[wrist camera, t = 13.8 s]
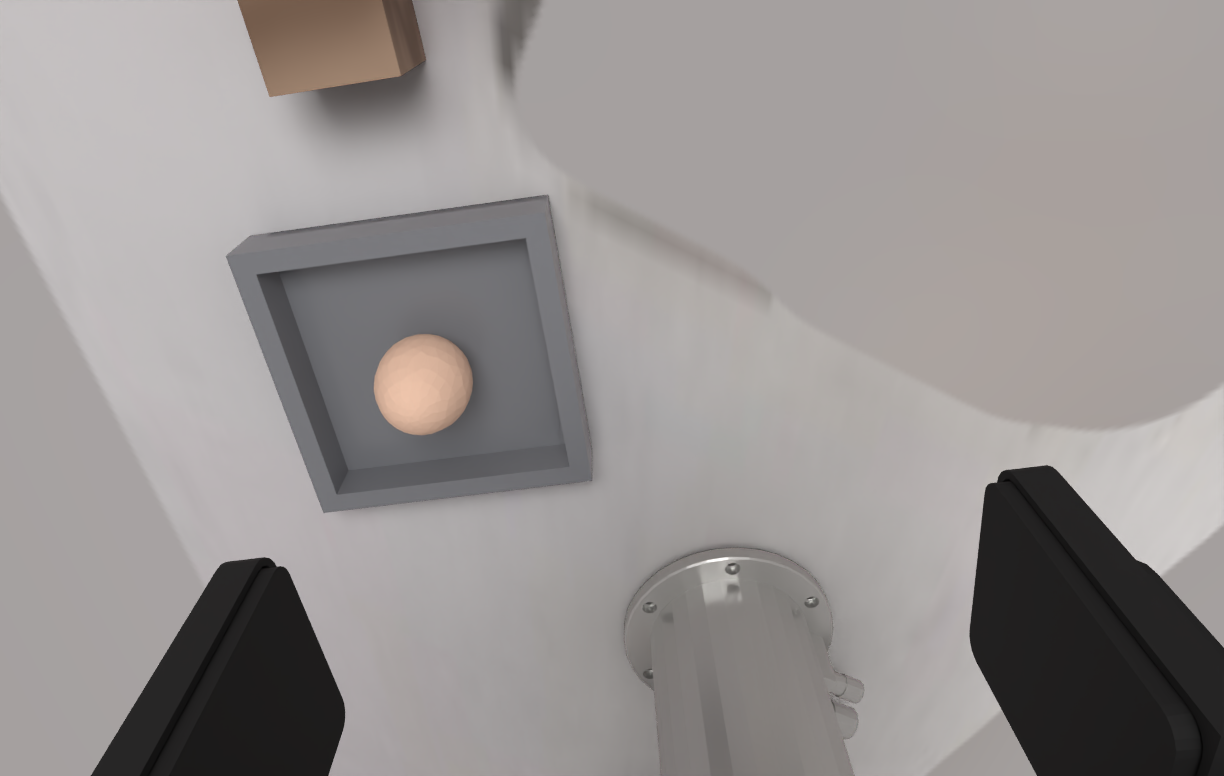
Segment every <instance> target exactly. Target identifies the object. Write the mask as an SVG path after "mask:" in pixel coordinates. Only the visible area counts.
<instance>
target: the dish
mask: <svg viewBox="0 0 1224 776" xmlns="http://www.w3.org/2000/svg"><path fill="white" fill-rule="evenodd" d="M226 258H227V260H228V263H229V266H230V268H231V271H232V274H233V276H234V279H235V281H236V284H237V287H238V289H239V292H240V295H241V297H242V300H243V302H244V305H245V308H246V310H247V313H248V316H249V318H250V321H251V323H252V326H253V329H254V331H255V334H256V337H257V339H258V342H259V344H260V347H261V350H262V352H263V355H264V358H265V360H266V363H267V366H268V368H269V371H270V373H271V376H272V379H273V381H274V384H275V387H276V389H277V392H278V394H279V397H280V400H281V402H282V405H283V408H284V410H285V413H286V415H287V418H288V421H289V423H290V426H291V429H292V431H293V434H294V436H295V439H296V442H297V444H298V447H299V450H300V452H301V455H302V457H303V460H304V463H305V465H306V468H307V471H308V473H309V476H310V478H311V481H312V484H313V486H314V489H315V492H316V494H317V497H318V500H319V502H320V505H321V507H322V510H323V513H326V512H335V511H343V510H351V509H360V508H368V507H376V506H385V505H393V504H401V503H410V502H418V501H426V500H435V499H443V498H451V497H460V496H468V495H476V494H485V493H493V492H501V491H510V490H518V489H526V488H535V487H543V486H551V485H560V484H568V483H576V482H585V481H592V446H591V441H590V435H589V429H588V423H587V417H586V412H585V406H584V400H583V394H582V388H581V383H580V377H579V371H578V365H577V360H576V354H575V348H574V342H573V336H572V331H571V325H570V319H569V313H568V308H567V302H566V296H565V290H564V284H563V279H562V273H561V267H560V261H559V255H558V250H557V244H556V238H555V232H554V227H553V221H552V215H551V209H550V203H549V198H548V195H543V196H535V197H528V198H521V199H514V200H506V201H499V202H492V203H485V204H477V205H470V206H463V207H455V208H448V209H441V210H434V211H426V212H419V213H412V214H405V215H397V216H390V217H383V218H376V219H368V220H361V221H354V222H347V223H339V224H332V225H325V226H317V227H310V228H303V229H296V230H288V231H281V232H274V233H267V234H259V235H252V236H249V237H248V238H247V239H246V240H244V241H243V242H242V243H241V244H240V245H238V246H237V247H236V248H235V249H234V250H232V251H231V252H230V253H229V254H228V255H226ZM417 334H433V335H437V336H441V337H443V338H445V339H447V340H449V341H451V342H452V343H454V344H455V345H456V346H457V347H458V348H459V349H460V350H461V351H462V352H463V353H464V355H465V356H466V358H467V359H468V362H469V364H470V367H471V370H472V377H473V387H472V393H471V396H470V399H469V402H468V404H467V406H466V408H465V410H464V412H463V413H462V414H461V416H460V417H459V418H458V419H457V420H456V421H455V422H454V423H453V424H452V425H450V426H448V427H446V428H444V429H443V430H440V431H438V432H435V433H433V434H428V435H412V434H408V433H404V432H402V431H400V430H398V429H396V428H395V427H394V426H392V425H391V424H390V423H389V422H388V421H387V420H386V419H385V418H384V416H383V415H382V413H381V411H380V409H379V407H378V404H377V402H376V400H375V394H374V378H375V374H376V371H377V368H378V366H379V363H380V361H381V359H382V358H383V356H384V355H385V353H386V352H387V351H388V350H389V349H390V348H391V347H392V346H393V345H394V344H395V343H397V342H399V341H400V340H402V339H404V338H406V337H409V336H413V335H417Z"/></svg>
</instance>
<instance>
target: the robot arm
mask: <svg viewBox="0 0 1224 776" xmlns="http://www.w3.org/2000/svg"><path fill="white" fill-rule="evenodd" d="M832 632H833V621H832V613H831V610H830V607H829V604H828V601H827V598H826V596H825V594H824V592H823V590H822V589H821V587H820V585H819V583H818V582H817V581H816V580H815V579H814V578H813V577H812V576H811V575H810V574H809V573H808V571H806V570H805V569H803V568H802V567H800V566H799V565H798V564H796V563H795V562H793V561H791V560H789V559H786V558H784V557H782V556H779V555H777V554H774V553H770V552H766V551H762V550H758V549H747V548H724V549H714V550H709V551H704V552H700V553H695V554H693V555H690V556H688V557H685V558H682V559H680V560H677V561H675V562H673V563H672V564H670V565H668V566H666V567H665V568H663V569H661V570H660V571H658V572H657V573H656V574H655V575H654V576H652V577H651V578H650V579H649V580H648V581H646V582H645V583H644V585H643V586H642V587H641V588H640V590H639V591H638V592H637V593H636V595H635V596H634V598H633V600H632V602H631V604H630V606H629V608H628V610H627V614H626V619H625V623H624V643H625V649H626V655H627V658H628V660H629V662H630V664H631V667H632V669H633V670H634V672H635V673H636V674H637V676H638V677H639V678H640V679H641V681H643V682H644V683H645V684H646V685H647V686H648V687H650V688H651V689H652V690H653V691H654V695H655V708H656V721H657V733H658V746H659V759H660V772H661V776H855V775H854V772H853V769H852V766H851V763H850V759H849V756H848V753H847V750H846V747H845V743H844V740H843V739H849V738H850V737H852V736H853V735H854V733H855V731H856V729H857V725H858V715H857V712H856V711H855V709H854V708H851V707H848V706H846V705H843V704H841V703H838V702H836V701H833V700H831V699H830V695H829V693H833V694H835V695H836V696H837V697H840V698H842V699H845V700H847V701H850V702H853V703H858V702H859V701H860V700H861V699H862V697H863V694H864V684H863V683H862V682H861V681H860V680H857V679H855V678H852V677H850V676H847V675H845V674H839V673H837V672H834V669H833V667H832V665H831V662H830V659H829V656H828V653H827V651H828V648H829V646H830V643H831V639H832ZM970 643H971V648H972V652H973V655H974V657H975V660H976V662H977V664H978V666H979V668H980V670H981V671H982V673H983V675H984V677H985V679H986V681H987V683H988V685H989V686H990V688H991V690H992V692H993V694H994V696H995V698H996V700H997V701H998V703H999V705H1000V707H1001V709H1002V711H1003V713H1004V715H1005V716H1006V718H1007V720H1008V722H1009V724H1010V726H1011V728H1012V730H1013V731H1014V733H1015V735H1016V737H1017V739H1018V741H1019V743H1020V744H1021V746H1022V748H1023V750H1024V752H1025V754H1026V756H1027V757H1028V760H1029V761H1030V763H1031V765H1032V767H1033V769H1034V771H1035V772H1036V775H1037V776H1224V648H1223V647H1222V645H1221V644H1220V643H1219V642H1218V641H1217V640H1216V639H1215V638H1214V636H1212V634H1211V633H1210V632H1209V631H1208V630H1207V629H1206V627H1205V626H1204V625H1203V624H1202V623H1201V622H1200V621H1199V620H1198V619H1197V617H1196V616H1195V615H1194V614H1193V613H1192V612H1191V611H1190V610H1189V609H1188V607H1187V606H1186V605H1185V604H1184V603H1183V602H1182V601H1181V600H1180V599H1179V597H1178V596H1177V595H1176V594H1175V593H1174V592H1173V591H1172V590H1171V588H1170V587H1169V586H1168V585H1167V584H1166V583H1165V582H1164V581H1163V580H1162V578H1161V577H1160V576H1159V575H1158V574H1157V573H1156V572H1155V571H1154V570H1152V569H1151V568H1150V567H1149V566H1148V565H1147V564H1145V563H1142V562H1140V561H1137V560H1136V559H1135V558H1134V557H1133V556H1132V555H1131V554H1130V553H1129V552H1128V550H1127V549H1126V548H1125V547H1124V546H1123V545H1122V544H1121V542H1120V541H1119V540H1118V539H1117V538H1116V537H1115V536H1114V535H1113V533H1112V532H1111V531H1110V530H1109V529H1108V528H1107V527H1106V525H1105V524H1104V523H1103V522H1102V521H1101V520H1100V519H1099V518H1098V516H1097V515H1096V514H1095V513H1094V512H1093V511H1092V510H1091V508H1090V507H1089V506H1088V505H1087V504H1086V503H1085V502H1084V501H1083V499H1082V498H1081V497H1080V496H1079V495H1078V494H1077V493H1076V491H1075V490H1074V489H1073V488H1072V487H1071V486H1070V485H1069V484H1068V482H1067V481H1066V480H1065V479H1064V478H1063V477H1062V476H1061V475H1060V473H1059V472H1058V471H1057V470H1056V469H1054V468H1053V467H1051V466H1048V465H1046V466H1038V467H1029V468H1021V469H1012V470H1005V471H1003V472H1001V473H1000V475H999V477H998V481H997V483H990V484H988V485H987V487H986V490H985V495H984V504H983V514H982V523H981V532H980V541H979V550H978V559H977V569H976V578H975V587H974V596H973V605H972V614H971V623H970ZM344 723H345V707H344V702H343V699H342V696H341V694H340V691H339V689H338V687H337V684H336V682H335V680H334V677H333V675H332V673H331V670H330V668H329V666H328V663H327V661H326V659H325V656H324V654H323V651H322V649H321V647H320V644H319V642H318V640H317V637H316V635H315V633H314V630H313V628H312V626H311V623H310V621H309V619H308V616H307V614H306V611H305V609H304V607H303V604H302V602H301V600H300V597H299V595H298V593H297V590H296V588H295V586H294V583H293V581H292V579H291V576H290V574H289V572H288V571H287V569H286V568H284V567H281V566H280V567H276V565H275V563H274V562H273V561H272V560H271V559H270V558H265V557H264V558H256V559H247V560H239V561H230V562H225V563H223V564H221V565H220V567H219V568H218V569H217V570H216V572H215V573H214V575H213V577H212V578H211V580H210V582H209V583H208V585H207V587H206V588H205V590H204V591H203V593H202V595H201V596H200V598H199V600H198V601H197V603H196V605H195V606H194V608H193V610H192V611H191V613H190V615H189V616H188V618H187V619H186V621H185V623H184V624H183V626H182V627H181V629H180V631H179V632H178V634H177V636H176V637H175V639H174V641H173V642H172V644H171V645H170V647H169V649H168V650H167V652H166V654H165V655H164V657H163V659H162V660H161V662H160V663H159V665H158V667H157V669H156V670H155V672H154V673H153V675H152V677H151V678H150V680H149V681H148V683H147V685H146V686H145V688H144V690H143V691H142V693H141V695H140V696H139V698H138V700H137V701H136V703H135V704H134V706H133V708H132V709H131V711H130V713H129V714H128V716H127V718H126V719H125V721H124V722H123V724H122V726H121V727H120V729H119V731H118V733H117V734H116V736H115V737H114V739H113V740H112V742H111V744H110V745H109V747H108V749H107V750H106V752H105V754H104V756H103V757H102V759H101V760H100V762H99V764H98V765H97V767H96V768H95V770H94V772H93V773H92V775H91V776H328V775H329V772H330V768H331V765H332V762H333V759H334V756H335V753H336V750H337V747H338V744H339V741H340V738H341V735H342V731H343V728H344Z"/></svg>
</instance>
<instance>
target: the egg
mask: <svg viewBox="0 0 1224 776" xmlns="http://www.w3.org/2000/svg"><path fill="white" fill-rule="evenodd" d="M472 387H473V377H472V370H471V367H470V364H469V362H468V359H467V358H466V356H465V355H464V353H463V352H462V351H461V350H460V349H459V348H458V347H457V346H456V345H455V344H454V343H452V342H451V341H449V340H447V339H445V338H443V337H441V336H437V335H433V334H417V335H413V336H409V337H406V338H404V339H402V340H400V341H399V342H397V343H395V344H394V345H393V346H392V347H391V348H390V349H389V350H388V351H387V352H386V353H385V355H384V356H383V358H382V359H381V361H380V363H379V366H378V368H377V371H376V374H375V378H374V394H375V400H376V402H377V404H378V407H379V409H380V411H381V413H382V415H383V416H384V418H385V419H386V420H387V421H388V422H389V423H390V424H391V425H392V426H394V427H395V428H396V429H398V430H400V431H402V432H404V433H408V434H412V435H428V434H433V433H435V432H438V431H440V430H443V429H444V428H446V427H448V426H450V425H452V424H453V423H454V422H455V421H456V420H457V419H458V418H459V417H460V416H461V414H462V413H463V412H464V410H465V408H466V406H467V404H468V402H469V399H470V396H471V393H472Z"/></svg>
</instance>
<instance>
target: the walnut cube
mask: <svg viewBox="0 0 1224 776" xmlns="http://www.w3.org/2000/svg"><path fill="white" fill-rule="evenodd" d="M238 3H239V6H240V9H241V12H242V15H243V18H244V21H245V24H246V27H247V30H248V33H249V36H250V39H251V42H252V45H253V48H254V51H255V54H256V57H257V60H258V63H259V66H260V69H261V72H262V75H263V78H264V81H265V84H266V87H267V90H268V93H269V96H270V97H273V96H279V95H285V94H292V93H298V92H304V91H311V90H317V89H323V88H329V87H336V86H342V85H348V84H355V83H361V82H367V81H374V80H380V79H386V78H392V77H399V76H402V75H404V74H405V73H407V72H408V71H410V70H411V69H413V68H414V67H416V66H417V65H419V64H420V63H422V62H423V61H425V60H426V57H425V53H424V49H423V45H422V40H421V36H420V32H419V28H418V24H417V19H416V15H415V11H414V7H413V3H412V0H238Z"/></svg>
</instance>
